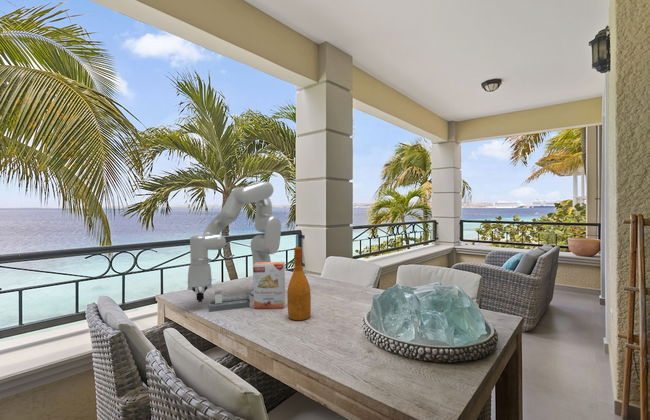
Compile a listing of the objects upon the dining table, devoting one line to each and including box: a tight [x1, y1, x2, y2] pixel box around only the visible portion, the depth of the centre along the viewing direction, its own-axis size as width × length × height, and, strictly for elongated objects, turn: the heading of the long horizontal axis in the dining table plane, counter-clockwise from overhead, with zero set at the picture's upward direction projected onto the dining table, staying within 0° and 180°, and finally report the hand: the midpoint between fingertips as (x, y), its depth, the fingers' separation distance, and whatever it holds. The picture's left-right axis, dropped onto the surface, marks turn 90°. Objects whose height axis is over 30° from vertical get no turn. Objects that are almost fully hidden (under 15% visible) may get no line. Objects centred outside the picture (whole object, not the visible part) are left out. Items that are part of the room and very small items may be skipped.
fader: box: [214, 290, 223, 304], centre depth 148 cm, size 3×5×5 cm, turn 17°
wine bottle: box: [286, 246, 312, 321], centre depth 133 cm, size 10×10×30 cm
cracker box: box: [252, 261, 286, 310], centre depth 147 cm, size 14×6×21 cm, turn 90°
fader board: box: [208, 292, 251, 313], centre depth 149 cm, size 18×10×4 cm, turn 107°
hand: (200, 301), depth 145 cm, fingers closed
